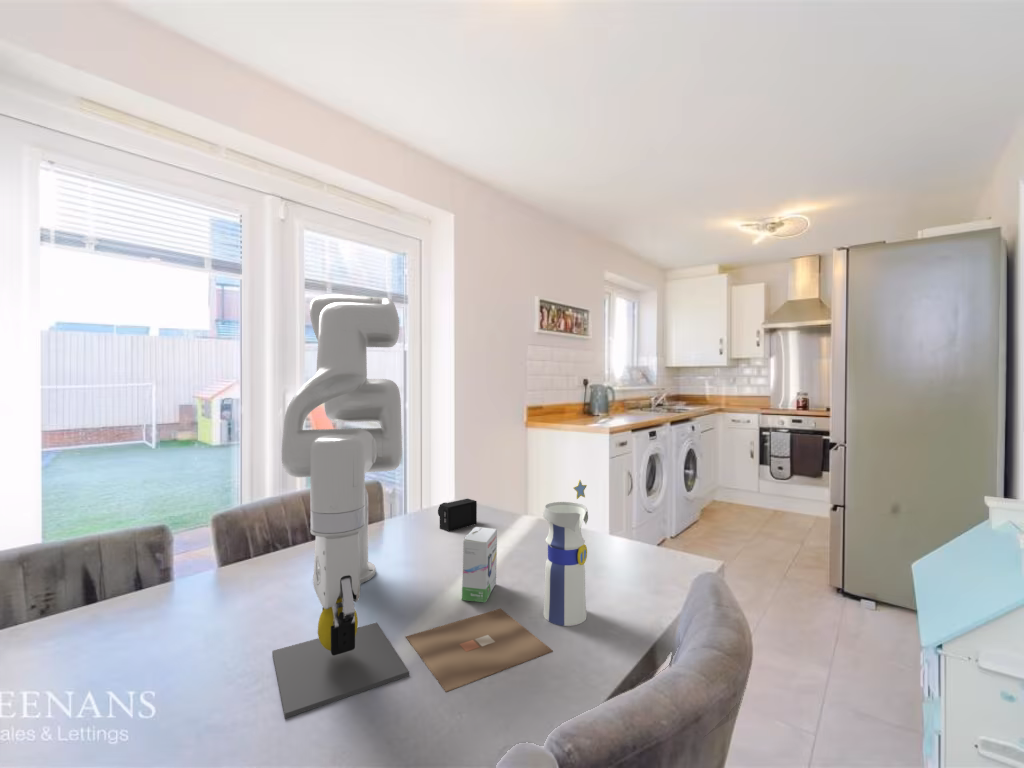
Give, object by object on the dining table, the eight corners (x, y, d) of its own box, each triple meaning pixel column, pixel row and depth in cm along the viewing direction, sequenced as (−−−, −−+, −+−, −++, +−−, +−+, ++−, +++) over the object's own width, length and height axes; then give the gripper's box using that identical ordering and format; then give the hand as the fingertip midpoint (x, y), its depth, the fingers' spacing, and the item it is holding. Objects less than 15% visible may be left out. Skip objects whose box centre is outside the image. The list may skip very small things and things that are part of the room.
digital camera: (465, 520, 142) (465, 497, 142) (476, 524, 138) (476, 500, 138) (436, 527, 134) (436, 503, 134) (448, 532, 130) (448, 507, 130)
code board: (405, 637, 77) (405, 636, 77) (500, 609, 86) (500, 608, 86) (445, 692, 63) (445, 690, 63) (552, 651, 73) (552, 650, 73)
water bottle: (596, 610, 86) (596, 473, 86) (578, 631, 78) (578, 482, 78) (555, 599, 90) (555, 469, 90) (534, 618, 83) (534, 477, 83)
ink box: (473, 582, 98) (473, 525, 98) (497, 584, 97) (497, 527, 97) (460, 601, 89) (460, 539, 89) (487, 603, 88) (487, 541, 88)
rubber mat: (272, 654, 72) (272, 650, 72) (376, 625, 80) (376, 622, 80) (284, 718, 58) (284, 713, 58) (409, 675, 67) (409, 671, 67)
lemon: (309, 658, 68) (309, 603, 68) (337, 639, 73) (336, 587, 73) (339, 667, 66) (339, 610, 66) (365, 646, 71) (365, 594, 71)
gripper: (301, 509, 74) (302, 622, 75) (321, 540, 60) (322, 681, 60) (350, 502, 78) (350, 610, 79) (380, 531, 64) (380, 663, 64)
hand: (338, 640), depth 69 cm, fingers closed on lemon, 5 cm apart
